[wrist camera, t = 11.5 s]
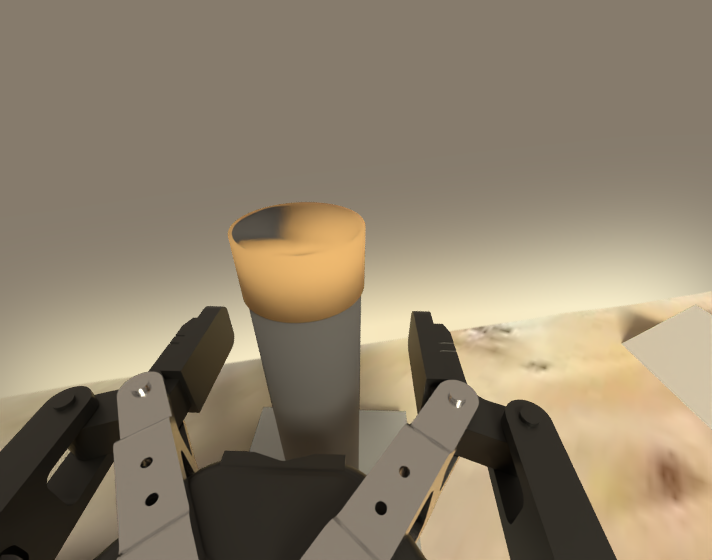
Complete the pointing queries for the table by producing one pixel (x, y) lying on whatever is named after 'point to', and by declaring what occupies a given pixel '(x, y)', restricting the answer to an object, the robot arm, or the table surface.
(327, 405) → the grey orange cylinder
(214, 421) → the table surface
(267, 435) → the rubber mat
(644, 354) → the z bracket
